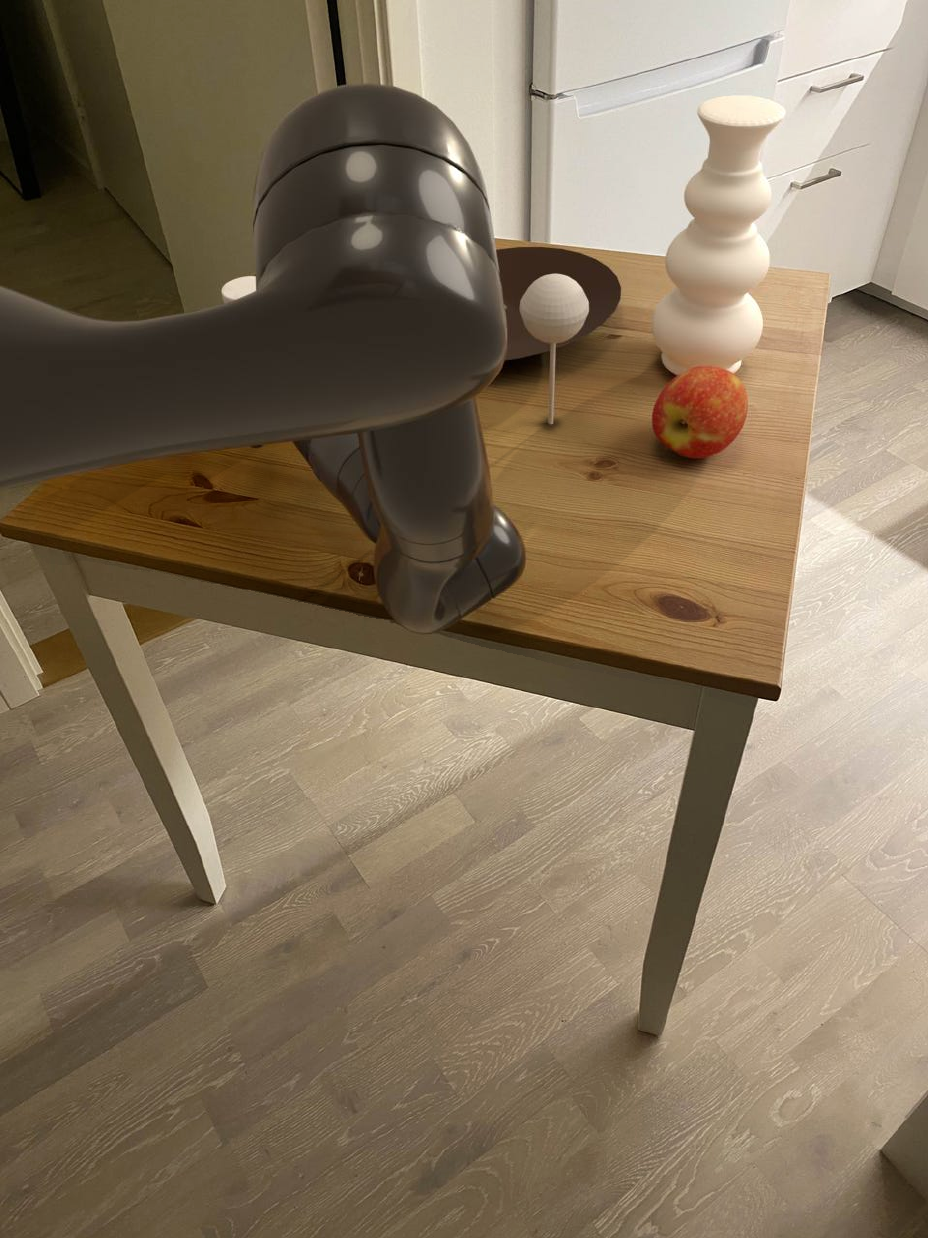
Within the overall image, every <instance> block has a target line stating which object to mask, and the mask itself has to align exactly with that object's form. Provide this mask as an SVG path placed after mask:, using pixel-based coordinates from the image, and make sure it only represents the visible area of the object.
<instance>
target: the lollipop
mask: <svg viewBox="0 0 928 1238" xmlns="http://www.w3.org/2000/svg"><path fill="white" fill-rule="evenodd" d="M588 312H589V302H588V299H587V297H586V295H585V293H584V291H583V290H582V288H581V287H580V285H579V284H578V283H577V282H576V281H575V280H573V279H572V278H570V277H568V276H566V275H562V274H549V275H545V276H542V277H540V278H539V279H537V280H535V281H534V282H533V283H532V284H531V285H530V286H529V287H528V289H527V291H526V292H525V294H524V295H523V297H522V299H521V301H520V313H521V316H522V319H523V322H524V325H525V327H526V328H527V330H528V331H529V333H530V334H532V335H533V336H534V337H535V338H537V339H538V340H540V341H543V342H546V343H551V347H550V350H549V352H550V353H549V385H548V387H549V388H548V389H549V390H548V419H547V420H548V422H547V423H548V425H553V424H554V407H555V406H554V403H555V376H556V373H555V372H556V348H555V347H556V343H561V342H564V341H566V340H568V339H570V338H572V337H573V336H574V335H576V334H577V333H578V332H579V330H580V329H581V327H582V326H583V324H584V321H585V319H586V317H587V315H588Z"/></svg>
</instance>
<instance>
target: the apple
mask: <svg viewBox="0 0 928 1238" xmlns="http://www.w3.org/2000/svg"><path fill="white" fill-rule="evenodd" d="M746 389H747V388H746V387H745V385H744V382H743V381H742V380H741V379H740V378H739V377H738V376H737V375H736V374H735V373H734V374H733V373H732V372H730V371H728V370H726V369H723V368H720V367H714V366H699V367H694V368H691V369H689V370H686V371H684V372H682V373H681V374H679V375H678V376H677V375H675V377H673V378H672V379H671V380H670V381H669V382H668V383H667V384H666V386H665V387H664V388H663V389H662V390H661V392H660V394H659V395H658V397H657V398H656V400H655V403H654V405H653V409H652V413H651V426H652V430H653V432H654V435H655V436H656V439H657V440H658V441H659V442H660V444H661V445H663V446H664V447H666V448H667V449H669V450H670V451H672V452H674V453H675V454H677V455H678V456H682V457H684V458H689V459H705V458H709V457H711V456H715V455H716V454H719V453H721V452H723V451H724V450H726V449H727V448H728V447H729V446H730V445H731V444H732V443H733V442H734V441H735V440H736V439H737V437H738V436H739V434H740V433H741V431H742V430H743V428H744V425H745V423H746V420H747V416H748V410H749V409H748V408H749V399H748V393H747V390H746Z"/></svg>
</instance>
